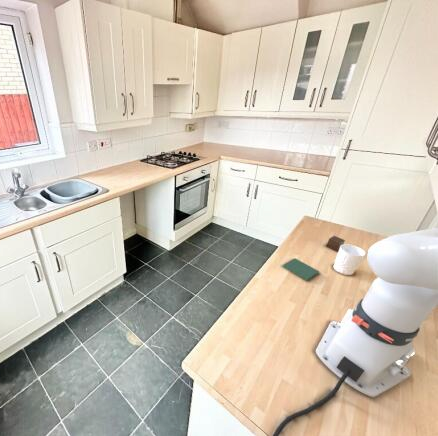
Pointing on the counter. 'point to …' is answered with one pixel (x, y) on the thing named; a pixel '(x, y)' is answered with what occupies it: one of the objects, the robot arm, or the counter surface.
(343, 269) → the white cup
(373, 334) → the robot arm
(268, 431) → the counter surface
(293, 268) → the flat green block
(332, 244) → the walnut block
